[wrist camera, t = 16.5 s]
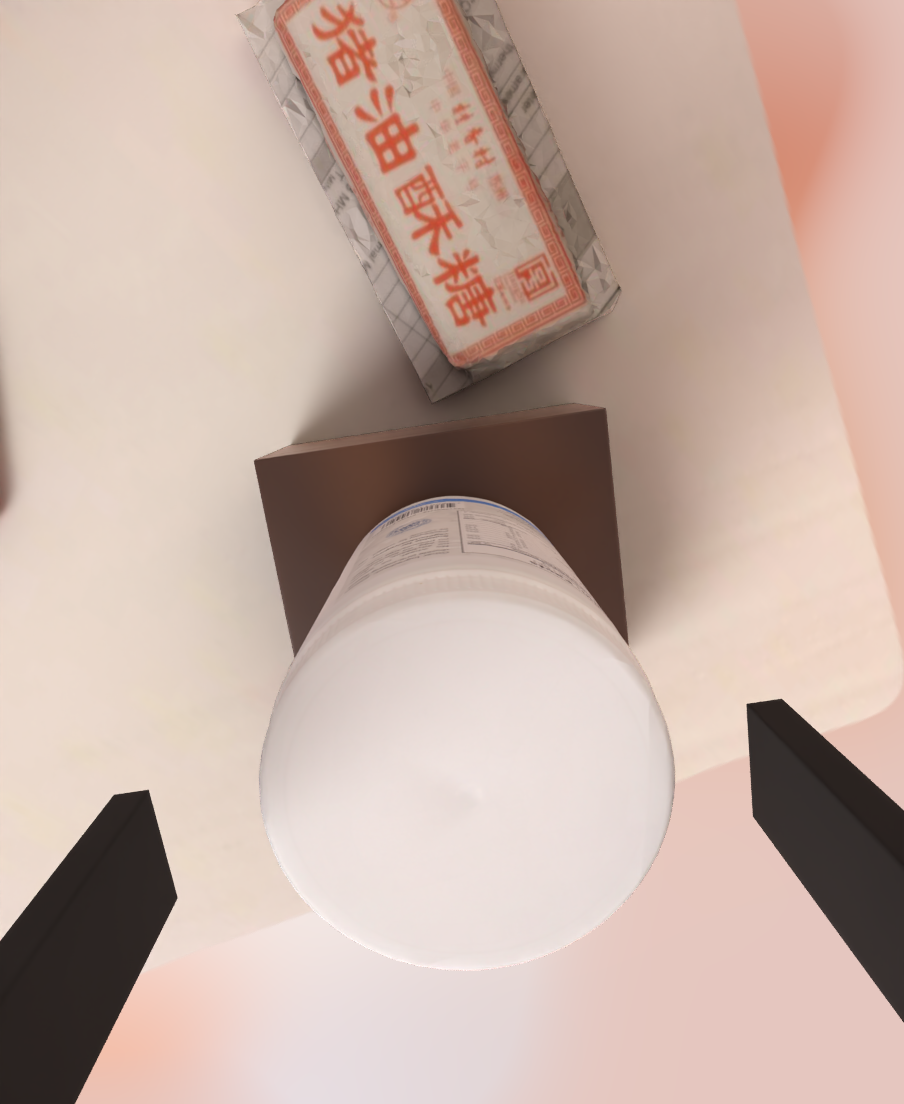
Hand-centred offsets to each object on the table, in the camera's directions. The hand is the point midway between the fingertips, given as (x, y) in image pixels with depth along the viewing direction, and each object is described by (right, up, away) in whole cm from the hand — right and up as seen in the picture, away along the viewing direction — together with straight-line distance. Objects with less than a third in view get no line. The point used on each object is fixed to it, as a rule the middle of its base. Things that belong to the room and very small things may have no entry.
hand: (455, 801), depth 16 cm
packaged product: (-1, +23, +17) cm, 28 cm away
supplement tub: (0, +3, +14) cm, 15 cm away
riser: (0, +5, +21) cm, 22 cm away
